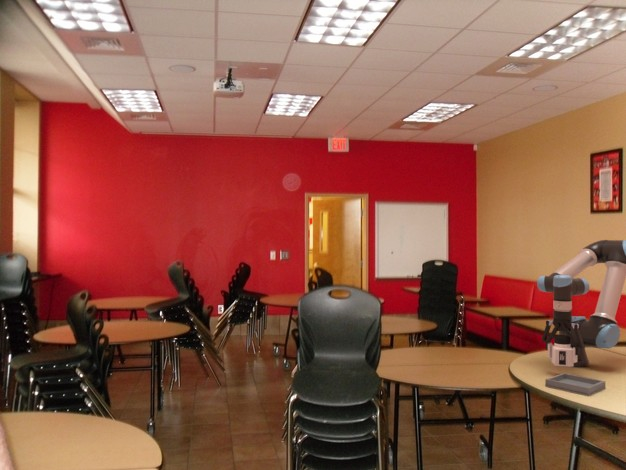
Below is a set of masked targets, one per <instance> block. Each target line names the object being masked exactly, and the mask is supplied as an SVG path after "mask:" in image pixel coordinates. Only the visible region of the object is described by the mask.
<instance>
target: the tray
mask: <svg viewBox="0 0 626 470" xmlns="http://www.w3.org/2000/svg"><path fill="white" fill-rule="evenodd" d="M544 385H545V387H547V388H549V389H550V388H551V389H553V390H554V389H555V390H559V391H563V390H564V391H565V392H569V393H573V394H577V395H583V396H587V397H590V396H591V395H595V394H596V393H598V392H602V391H603V390H605V389H606V381H605V380H600V379H596V378H590V377H585V376H579V375H575V374H570V373H565V372H562V373H560V374H557V375H554V376H552V377H548V378H545V384H544Z"/></svg>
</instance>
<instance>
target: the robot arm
mask: <svg viewBox="0 0 626 470" xmlns="http://www.w3.org/2000/svg"><path fill="white" fill-rule="evenodd" d="M597 264H604V265H605V266H606V271H605V275H604V279H603V282H602V285H601V288H600V289H601V290H600V293H599V296H598V300H597V303H596V306H595V310H594V313H593V314H591V315H590V316H589V319H588V320H587V318H586V316H580V315H579V316H574V315H573V312H572V310H573V305H572V304H573V302H572V300H573V299H572V297H573V296H582V295H586V294H587V293H588V292H590V283H589V282H588V280H586V279H585V278H583V277H581V278H579V277H577V276H579V275H580V274H581V273H582V272H584V271H585V270H586V269H587V268H589V267H594V266H595V265H597ZM576 277H577V278H576ZM625 281H626V239H622V240H620V239H619V240H618V239H615V240H614V239H602V240H597V241H595V242H592V243H590V244H588V245H586V246H584V247H583V248H582V249H580V250H579V251H578V254H577V255H575V256H574V257H573V258H572V259H570V260H569V261H567V262H566V263H564V264H563V265H562V266H560V267H559V268H558V269H556V270H555V271H553V273H551V274H549V275H541V276H539V277H538V279H537V281H536V286H537V289H538V290H539V291H540V292H544V293H553V298H552V299H553V301H552V302H553V307H552V309H553V311H552V314H553V315H552V317H553V320H550V319H548V320H545V326H544V330H543V334H542V336H541V342H544V343H545V350H546V351H547V359H551V345H553V343H552V340H554V336H555V335H557V333H558V334H562V335H568V336H569V337H570V347H571V348H572V349H573V363H574V366H573V368H575V367H576V368H581V367H583V368H584V367H589V365H590V361H589V358H588V357H589V356H588V354H587V351H586V346H590V347H595V348H599V349H612V348H614V347H615V346H616V345H617V344H618V343H619V341H620V337H621V329H620V326H619V325H618V321H617V320H616V314H617V312H618V307H619V303H620V299H621V297H622V293H623V288H624V285H625ZM552 325H553V329H552V331H551V333H550V330H551V328H552ZM549 333H550V334H549Z"/></svg>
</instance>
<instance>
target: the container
mask: <svg viewBox="0 0 626 470" xmlns="http://www.w3.org/2000/svg"><path fill="white" fill-rule="evenodd" d="M553 340H554V342H553V343H554V344H552V345H551V358H550V361H551V364H553V365H554V366H555V367H569V368H571V367H573V366H574V363H573V349H572V348H571V347H570V337H569V336H568V335H562V334H559V333H558V334H555V336H554V337H553ZM573 368H574V367H573Z"/></svg>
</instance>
